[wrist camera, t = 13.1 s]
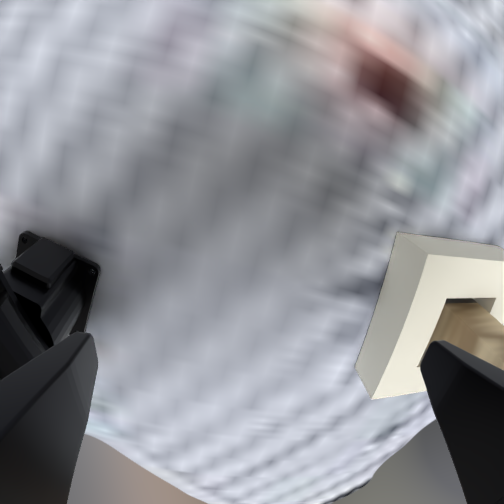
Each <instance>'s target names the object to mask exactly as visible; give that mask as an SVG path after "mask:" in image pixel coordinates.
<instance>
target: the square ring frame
mask: <svg viewBox="0 0 504 504" xmlns="http://www.w3.org/2000/svg"><path fill="white" fill-rule="evenodd" d="M447 298H473V299H474V300H475V301H476V302H477V303H478V304H480V305H481V306H482V307H483V308H484V309H485V310H486V311H488V312H489V313H490V314H491V315H492V316H493V317H494V318H496V319H497V320H498V321H499V322H500V323H501V324H502V325H503V324H504V249H502V248H501V247H499V246H495V245H488V244H482V243H475V242H468V241H461V240H453V239H446V238H439V237H431V236H423V235H415V234H407V233H399V232H397V234H396V238H395V242H394V246H393V250H392V254H391V258H390V261H389V265H388V268H387V272H386V275H385V279H384V282H383V286H382V289H381V292H380V295H379V299H378V302H377V305H376V308H375V311H374V314H373V317H372V320H371V323H370V326H369V329H368V332H367V335H366V337H365V340H364V343H363V346H362V348H361V351H360V354H359V357H358V359H357V362H356V364H355V369H356V371H357V373H358V375H359V377H360V379H361V381H362V382H363V384H364V386H365V388H366V390H367V392H368V394H369V396H370V398H371V400H372V399H380V398H387V397H393V396H400V395H406V394H412V393H417V392H423V391H427V389H426V386H425V383H424V380H423V377H422V374H421V371H420V364H421V361H422V359H423V357H424V355H425V353H426V351H427V349H426V347H427V345H428V343H429V340H430V338H431V336H432V334H433V331H434V329H435V327H436V324H437V322H438V319H439V317H440V314H441V312H442V309H443V307H444V304H445V302H446V299H447Z"/></svg>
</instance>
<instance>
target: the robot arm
mask: <svg viewBox="0 0 504 504" xmlns="http://www.w3.org/2000/svg"><path fill="white" fill-rule="evenodd" d="M24 237H26V238H27V241H26V240H25V238H24ZM90 269H93V270H94V271H95V273H92V272H91V270H90ZM2 270H3V268H2V266H1V264H0V504H67V500H68V495H69V491H70V487H71V482H72V478H73V473H74V470H75V466H76V462H77V458H78V454H79V451H80V447H81V443H82V440H83V436H84V433H85V429H86V425H87V421H88V417H89V412H90V406H91V400H92V395H93V389H94V384H95V379H96V374H97V369H98V358H97V353H96V348H95V343H94V338H93V336H92V335H91V334H90V333H85V330H86V325H87V321H88V317H89V313H90V309H91V305H92V301H93V297H94V293H95V290H96V286H97V282H98V279H99V275H100V267H99V266H98V265H97V264H96V263H94V262H91V261H89V260H87V259H85V258H82V257H80V256H78V255H76V254H74V252H73V251H71V250H69V249H67V248H65V247H63V246H60V245H58V244H56V243H54V242H52V241H50V240H48V239H46V238H40V237H38V236H36V235H34V234H32V233H30V232H27V231H25V232H23V233H22V234H21V235H20V236H19V241H18V248H17V255H16V259H15V260H14V261H13V262H12V263H11V266H10V267H9V268H8V269H6V270H5V271H4V272H2ZM76 330H77V331H79V332H77V331H76ZM68 335H70V336H68ZM420 371H421V374H422V377H423V380H424V383H425V386H426V389H427V392H428V395H429V399H430V402H431V405H432V408H433V411H434V414H435V417H436V419H437V421H438V424H439V426H440V429H441V431H442V434H443V437H444V439H445V442H446V444H447V447H448V450H449V452H450V455H451V458H452V460H453V463H454V466H455V468H456V471H457V474H458V477H459V480H460V483H461V486H462V489H463V492H464V495H465V499H466V502H467V504H504V370H502V369H500V368H498V367H496V366H494V365H492V364H490V363H488V362H486V361H484V360H482V359H480V358H478V357H476V356H474V355H472V354H470V353H469V352H467V351H465V350H463V349H461V348H459V347H457V346H455V345H453V344H451V343H449V342H447V341H445V340H437V341H432V342H431V343H430V344H429V346H428V349H427V351H426V353H425V355H424V357H423V359H422V361H421V364H420Z"/></svg>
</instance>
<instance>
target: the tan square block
mask: <svg viewBox="0 0 504 504" xmlns="http://www.w3.org/2000/svg"><path fill="white" fill-rule="evenodd" d="M437 340H445V341H447V342H449V343H451V344H453V345H455V346H457V347H459V348H461V349H463V350H465V351H467V352H469V353H470V354H472V355H474V356H476V357H478V358H480V359H482V360H484V361H486V362H488V363H490V364H492V365H494V366H496V367H498V368H500V369H502V370H504V326H503V325H502V324H501V323H500V322H499V321H498V320H497V319H496V318H494V317H493V316H492V315H491V314H490V313H489V312H488V311H486V310H485V309H484V308H483V307H482V306H481V305H480V304H478V303H477V302H476V301H475V300H474V299H473V298H447V299H446V302H445V304H444V307H443V309H442V312H441V314H440V317H439V319H438V322H437V324H436V327H435V329H434V331H433V334H432V336H431V338H430V340H429V343H428V345H427V347H426V349H428V346H429V344H430V343H431V342H432V341H437Z"/></svg>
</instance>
